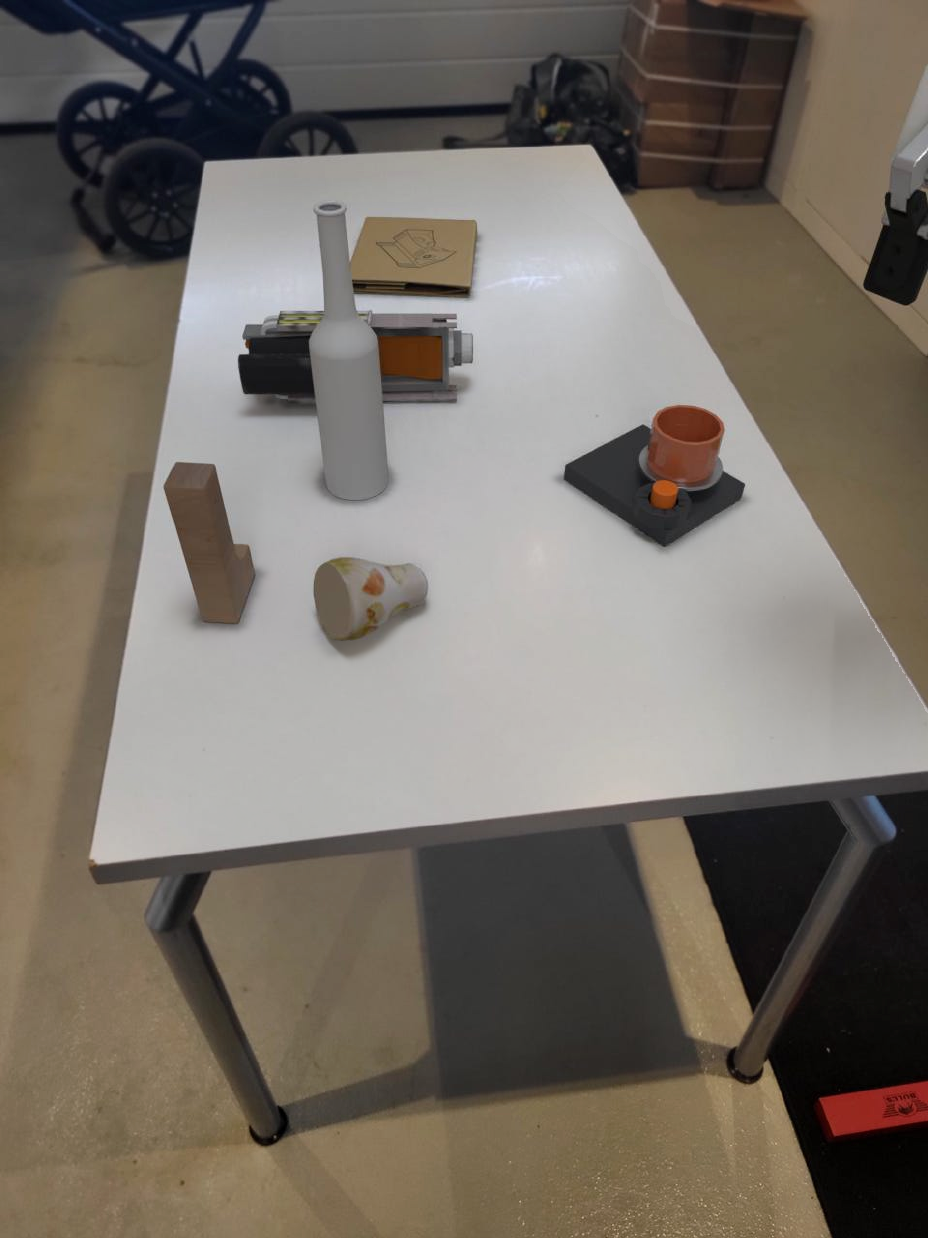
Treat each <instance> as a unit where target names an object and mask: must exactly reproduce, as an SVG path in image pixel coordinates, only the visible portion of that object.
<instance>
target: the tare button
mask: <svg viewBox="0 0 928 1238" xmlns="http://www.w3.org/2000/svg"><path fill="white" fill-rule="evenodd" d="M677 493H678V487H677V485H676V484H674V483H673V482H671V481H667V480H661V481H657V482H655V483H654V485H653V488H652V493H651V498H650V502H651V504H652V505H653V506H655V507H658V508H663V509H668V508H672V507H673V506H674V505H675V502H676V498H677Z"/></svg>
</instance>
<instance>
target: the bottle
mask: <svg viewBox="0 0 928 1238" xmlns="http://www.w3.org/2000/svg"><path fill="white" fill-rule="evenodd" d="M312 209H313V213H314V214H316V223H317V231H318V232H317V234H318V242H319V252H320V263H321V271H322V288H323V290H322V291H323V292H322V293H323V311H324V316H323V318H322V320H321V321H320V323H319V324H318V325H317V326H316V328H315V329H314V331H313V333H312V335H311V337H310V339H309V349H310V357H311V366H312V374H313V382H314V391H315V399H316V403H315V406H316V414H317V423H318V424H317V425H318V432H319V439H320V440H319V441H320V449H321V457H322V464H323V465H322V466H323V473H324V481H325V487H326V489H327V491H328V492H329V493H330V494H331V495H333V496H334V497H337V498H338V499H342V500H347V501H363V500H368V499H371V498H373V497H376V496H378V495H380V494H381V493H382V492H384V490H386V488H387V487H388V484H389V468H388V454H387V453H388V451H387V440H386V439H387V437H386V427H385V414H384V413H385V412H384V401H383V399H382V386H381V374H380V361H379V348H378V340H377V335H376V334H375V332H374V331H373V329H372V328H371V327H370V326H369V325H368V324H367V323H366V322H365V321H364V320H363V319H362V318H361V317H360V316H359V315H358V313H357V311H358V310H357V306H356V298H355V293H354V291H353V285H352V278H351V270H350V261H351V259H350V250H349V239H348V230H347V229H348V228H347V219H346V212H347V210H348V205H346V203H345V202H343V201H340V200H336V199H327V200H321V201H318V202H317V203H315V204H314V205H313V207H312Z"/></svg>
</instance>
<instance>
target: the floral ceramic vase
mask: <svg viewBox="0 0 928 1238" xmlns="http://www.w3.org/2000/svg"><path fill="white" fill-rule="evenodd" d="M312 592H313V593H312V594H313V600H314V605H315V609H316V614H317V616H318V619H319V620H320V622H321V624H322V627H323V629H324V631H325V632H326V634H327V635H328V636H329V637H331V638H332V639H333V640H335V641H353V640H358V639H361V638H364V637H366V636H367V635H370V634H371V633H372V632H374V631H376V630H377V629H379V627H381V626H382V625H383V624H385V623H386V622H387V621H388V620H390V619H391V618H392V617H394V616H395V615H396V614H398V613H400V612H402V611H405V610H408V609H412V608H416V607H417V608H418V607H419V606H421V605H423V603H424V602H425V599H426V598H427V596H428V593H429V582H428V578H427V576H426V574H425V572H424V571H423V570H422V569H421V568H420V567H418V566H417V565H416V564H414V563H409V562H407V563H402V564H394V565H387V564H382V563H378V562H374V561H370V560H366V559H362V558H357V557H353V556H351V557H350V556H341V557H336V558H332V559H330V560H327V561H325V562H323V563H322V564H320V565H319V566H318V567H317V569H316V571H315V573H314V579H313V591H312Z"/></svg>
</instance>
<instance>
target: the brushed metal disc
mask: <svg viewBox="0 0 928 1238" xmlns="http://www.w3.org/2000/svg"><path fill="white" fill-rule="evenodd" d="M647 448H648V445H647V446H646V447H645V448H644V449H643V450H642V451H641V453H640V455H639V459H638V465H639V468H640V470H641V472H642V473H643V474H644V476H645V477H647V478H648V479H649V480H650V481H652V482H653V483H655V482H657V481H661V480H667V481H671V480H668V479H665V478H663V477H661V476H659V475H657V474H656V473H654V472H653V471H652V470H651V469H650V468H649V466H648V464H647V461H646V456H647ZM723 471H724V464H723V462H722V459H721V457H719V456H718V459H717V463H716V465H715V468H714V471H713V473H712V474H711V475H710V476H709V477H707V478H706V479H704V480H701V481H697V482H690V483H683V482H675V481H671V482H673V483H674V484H676V485H677V487H678V491H698V490H703V489H706V488H709V487H711V486H713V485H714V484H716V483H717V482H718V481H719V479H720V478H721V476H722V473H723Z"/></svg>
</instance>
